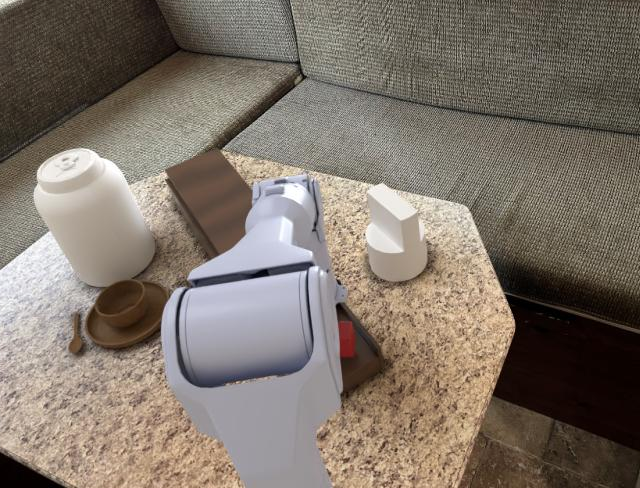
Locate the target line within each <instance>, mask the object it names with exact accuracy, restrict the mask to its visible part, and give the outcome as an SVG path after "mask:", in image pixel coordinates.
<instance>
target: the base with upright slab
mask: <svg viewBox="0 0 640 488" xmlns="http://www.w3.org/2000/svg"><path fill="white" fill-rule="evenodd" d="M366 198H367V205H368V211H369V218H370V223H369V224H368V225H367V227H366V229H365V234H364V237H365V244H366V250H367V256H368V262H369V266H370V269H371V271H372V272H373V274H374V275H375V276H376V277H378V278H380V279H382V280H385V281H388V282H393V283H395V282H396V283H397V282H398V283H399V282H405V281H409V280H411V279H414V278H415V277H417V276H419V275H420V274H422V272H423V271H424V270H425V268H426V267H427V265H428V247H427V234H426V225H425V224H424V222H423V220H421V218H420V217H419V211H418V210H417V208H416V207H414V206H412V205H411V204H410V203H409V202H407V201H406V200H405V199H404V198H403V197H401V196H400V195H399V194H397V193H396V192H395V191H394V190H393V189H391V188H390V187H388V185H386V184H385V183H384V182H381V183H379V184H376V185H374V186H372V187H370V188H369V189H367V190H366Z"/></svg>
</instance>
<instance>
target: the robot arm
mask: <svg viewBox="0 0 640 488" xmlns="http://www.w3.org/2000/svg"><path fill="white" fill-rule="evenodd" d="M252 190H253V198H252V209H251V210H250V212H249V214H248V216H247V219H246V224H245V229H246V235H245V236H244V237H243V238H242V239H241V240H240V241H239V242H238V243H237V244H236V245H235V246H234V247H233V248H232V249H230V250H229V251H227V252H225V253H223V254H221V255H219V256H218V257H216V258H214V259H212V260H211V259H210V260H208V261H207V262H204V263H203V264H201V265H199V266H197V267H195V268H193V269H192V270H191V271H190V272H189V274H188V276H187V278H186V282H187V283H190V284H191V285H192V286H193V287H190V286H189V285H188V286H186V287H185V286H180V287H178V288H176V289H174V291H173V292H172V293H171V295H170V296H169V297H170V299H169V300H168V302H167V303H166V305H165V308H164V311H163V316H162V324H161V326H160V340H161V349H162V355H163V360H164V370H165V371H164V372H165V376H166V381H167V386H168V387H169V388H170V390H171V392H172V393H173V395H174V396H175V398H176V399H177V401H178V403H179V404H180V405H181V407H182V409H183V410H184V411H185V413H186V414H187V416H188V418H189V419H190V420H191V422H192V424H193V425H194V427H195V429H196V430H197V431H198V433H201V434H203V435H205V436H207V437H210V438H212V439H214V440H216V441H219V442H221V443H222V444H223V446H224V449H225V451H226V452H227V455H228V456H229V459H230V461H231V463H232V465H233V466H234V469H235V471H236V473H237V475H238V477H239V479H240V481H241V482H242V484H243V487H244V488H334V485H333V483H332V480H331V478H330V475H329V472H328V470H327V467H326V465H325V462H324V459H323V457H322V454H321V451H320V449H319V446H318V443H317V435H318V434H317V433H318V429H319V428H320V427H321V426H322V425H323V424H324V423H326V422H327V421H328V420H329V419H330V418H331V417H332V416H333V415H335V414H336V413H337V412H338V411H339V410H340V409H341V407H342V399H341V396H340V394H341V392H342V391H343V382H342V373H341V364H340V343H339V330H338V317H337V314H336V306H337V303H341V302H344V303H345V302H346V301H347V300H348V293H349V291H348V286H347V285H343V284H342V281H341V280H340V279H338V278H336V276H335V273H334V269H333V265H332V260H331V256H330V252H329V248H328V242H327V238H326V228H325V227H326V226H325V225H326V224H325V211H324V201H323V195H322V190H321V186H320V182H319V180H318V178H317V177H316V176H315V177H313V178H310V176H309V174H308V173H304V174H303V173H302V174H295V175H289V176H281V177H275V178H270V179H263V180H261V181H260V182H257V181H255V180H254V181H253V184H252ZM293 372H296V373H293ZM287 373H293V374H290V375H287V376H284V375H283V374H287ZM280 375H281V376H280ZM274 376H276V377H274ZM269 377H271V378H269ZM261 378H263V379H261ZM256 379H259V380H256ZM250 380H251V381H250ZM243 381H246V382H243ZM239 382H240V383H239ZM241 382H242V383H241ZM233 383H234V384H233ZM226 384H228V385H226Z"/></svg>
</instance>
